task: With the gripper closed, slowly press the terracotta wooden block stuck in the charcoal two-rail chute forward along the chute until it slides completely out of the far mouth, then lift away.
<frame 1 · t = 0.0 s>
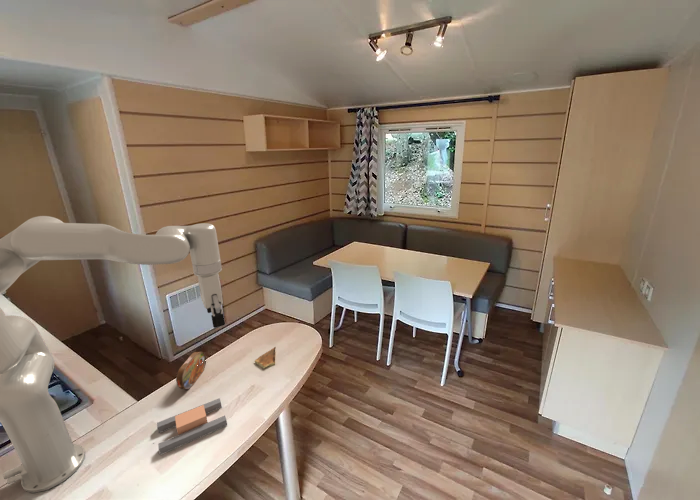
hand: (216, 318, 97), 31 cm above the worktop, tool pointing down, fingers open, 9 cm apart
block: (193, 427, 97), on the worktop
shard: (265, 360, 127), on the worktop
chute: (193, 426, 97), on the worktop
tin: (193, 379, 117), on the worktop
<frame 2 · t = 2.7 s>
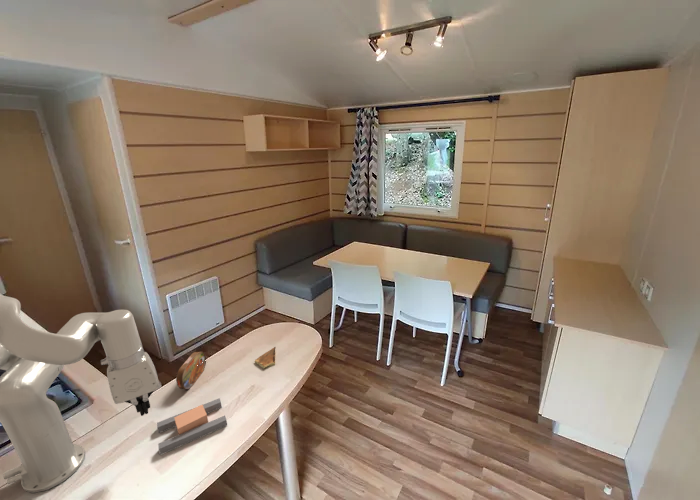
hand: (144, 411, 88), 12 cm above the worktop, tool pointing down, fingers closed
nothing on the worktop moved.
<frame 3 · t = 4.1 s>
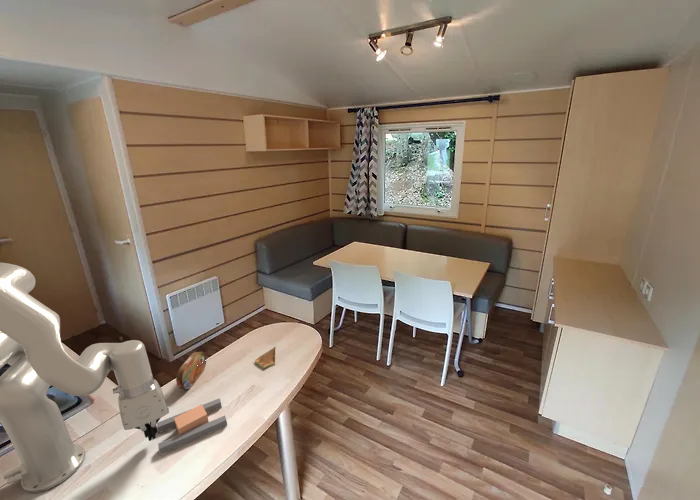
hand: (152, 436, 91), 3 cm above the worktop, tool pointing down, fingers closed
nothing on the worktop moved.
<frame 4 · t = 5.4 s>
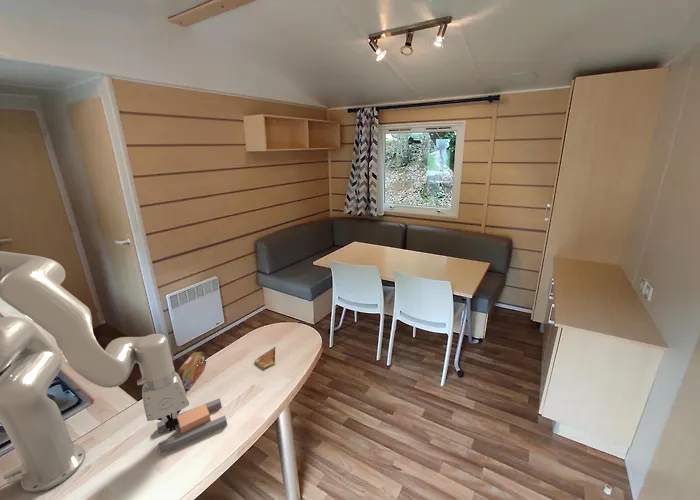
hand: (172, 427, 94), 3 cm above the worktop, tool pointing down, fingers closed
block: (195, 426, 98), on the worktop, touching gripper
everything else where it was.
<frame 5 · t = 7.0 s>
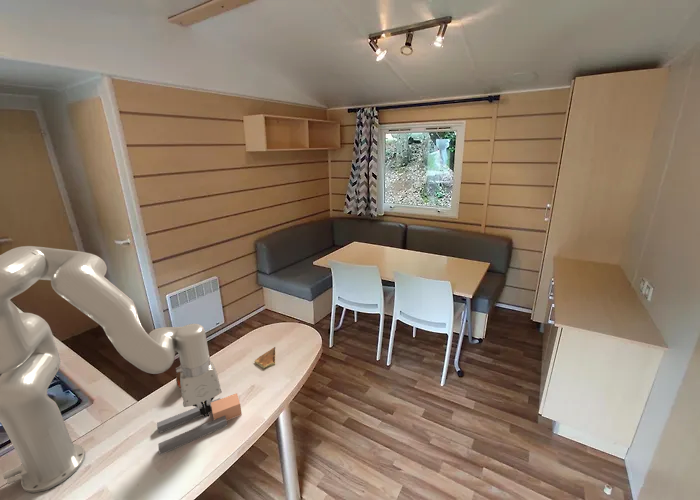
hand: (206, 413, 98), 3 cm above the worktop, tool pointing down, fingers closed
block: (227, 414, 102), on the worktop
everything else where it was.
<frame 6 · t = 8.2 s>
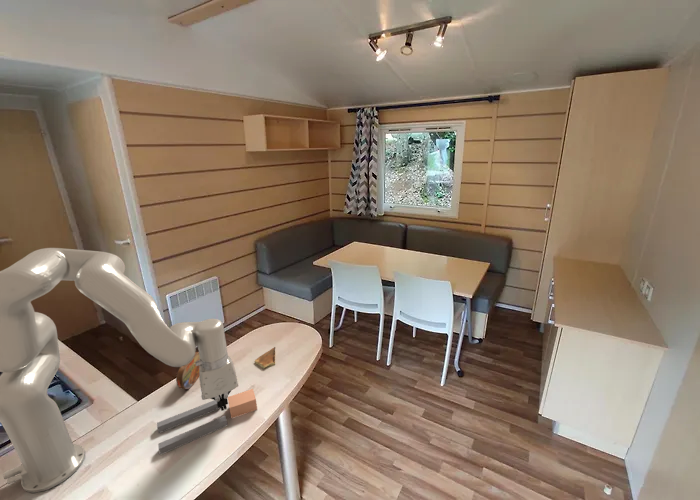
hand: (223, 406, 101), 3 cm above the worktop, tool pointing down, fingers closed
block: (243, 408, 104), on the worktop, touching gripper
everything else where it was.
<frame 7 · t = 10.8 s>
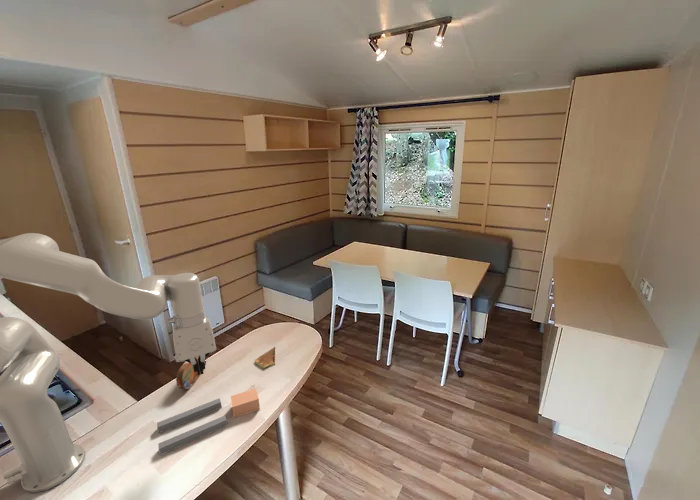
hand: (200, 371, 93), 18 cm above the worktop, tool pointing down, fingers closed
block: (246, 408, 104), on the worktop
everything else where it was.
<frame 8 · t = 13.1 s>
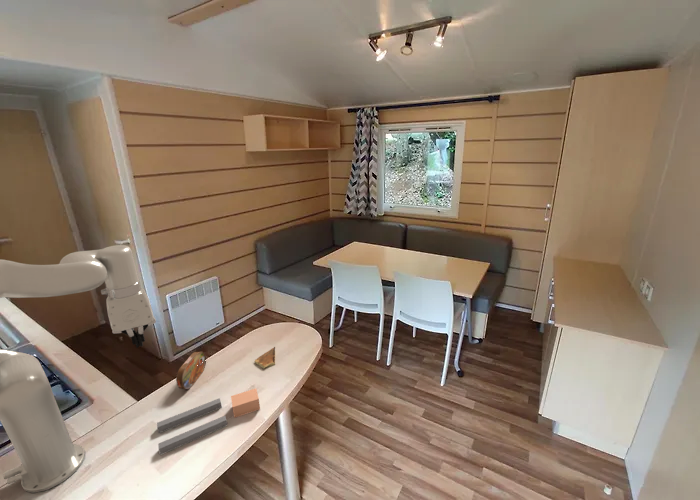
hand: (139, 344, 95), 25 cm above the worktop, tool pointing down, fingers closed
nothing on the worktop moved.
at the end: block inside the target area (1.6 cm from its centre), on the worktop; block tilted 0°; block touching worktop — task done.
